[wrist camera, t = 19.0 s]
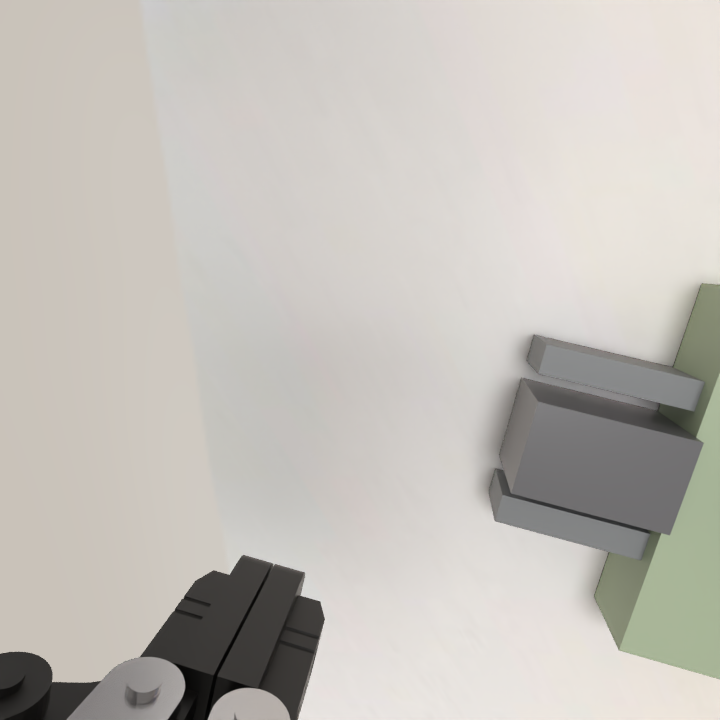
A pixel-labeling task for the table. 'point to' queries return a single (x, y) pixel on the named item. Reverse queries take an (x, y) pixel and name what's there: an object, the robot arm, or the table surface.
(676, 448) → the grey rectangular box
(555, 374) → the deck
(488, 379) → the table surface
